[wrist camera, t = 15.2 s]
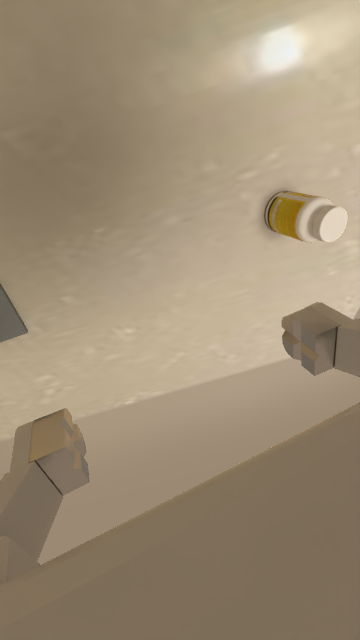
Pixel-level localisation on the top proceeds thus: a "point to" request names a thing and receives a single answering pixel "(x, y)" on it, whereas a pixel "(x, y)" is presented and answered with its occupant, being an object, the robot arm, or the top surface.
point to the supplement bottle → (305, 217)
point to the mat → (9, 319)
